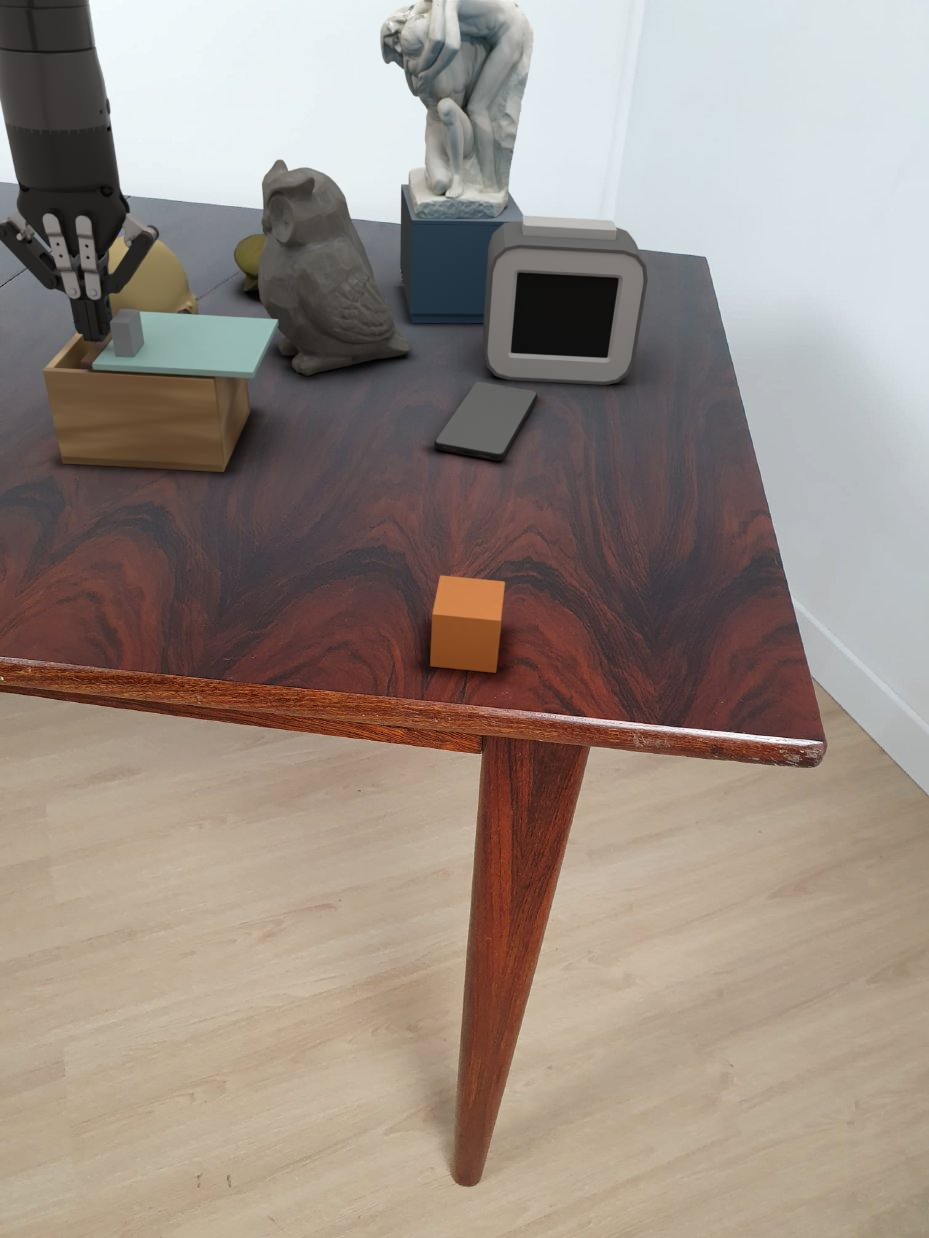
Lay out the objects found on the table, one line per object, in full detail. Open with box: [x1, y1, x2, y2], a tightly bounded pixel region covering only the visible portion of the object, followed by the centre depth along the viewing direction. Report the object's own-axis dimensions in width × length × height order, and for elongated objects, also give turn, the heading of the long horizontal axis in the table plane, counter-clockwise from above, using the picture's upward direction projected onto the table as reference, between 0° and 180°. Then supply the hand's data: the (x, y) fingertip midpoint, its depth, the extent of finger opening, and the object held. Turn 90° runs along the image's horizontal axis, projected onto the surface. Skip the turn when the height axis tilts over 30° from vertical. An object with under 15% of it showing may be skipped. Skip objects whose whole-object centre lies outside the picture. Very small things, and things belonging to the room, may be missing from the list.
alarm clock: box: [482, 215, 649, 386], centre depth 107 cm, size 16×11×16 cm
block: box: [429, 575, 506, 674], centre depth 68 cm, size 5×5×5 cm
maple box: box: [42, 331, 251, 473], centre depth 90 cm, size 12×14×9 cm
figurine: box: [258, 158, 410, 376], centre depth 104 cm, size 14×16×20 cm
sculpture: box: [379, 0, 534, 324], centre depth 116 cm, size 17×16×35 cm
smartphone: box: [433, 381, 538, 461], centre depth 98 cm, size 7×1×15 cm
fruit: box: [233, 233, 266, 292], centre depth 125 cm, size 11×12×7 cm
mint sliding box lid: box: [81, 309, 278, 379], centre depth 86 cm, size 12×14×4 cm
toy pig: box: [108, 235, 199, 318], centre depth 111 cm, size 10×12×11 cm
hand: (97, 338), depth 84 cm, fingers closed
